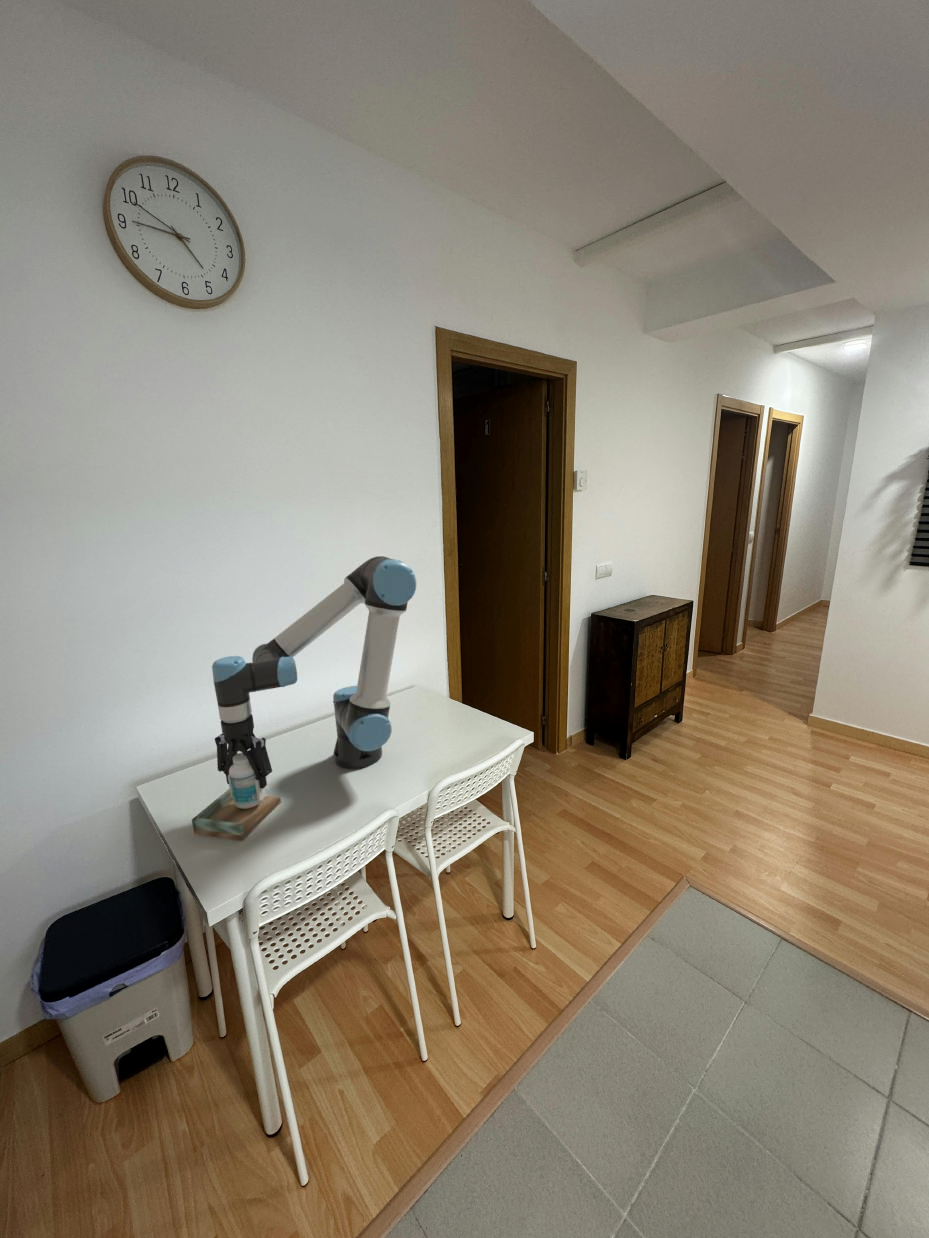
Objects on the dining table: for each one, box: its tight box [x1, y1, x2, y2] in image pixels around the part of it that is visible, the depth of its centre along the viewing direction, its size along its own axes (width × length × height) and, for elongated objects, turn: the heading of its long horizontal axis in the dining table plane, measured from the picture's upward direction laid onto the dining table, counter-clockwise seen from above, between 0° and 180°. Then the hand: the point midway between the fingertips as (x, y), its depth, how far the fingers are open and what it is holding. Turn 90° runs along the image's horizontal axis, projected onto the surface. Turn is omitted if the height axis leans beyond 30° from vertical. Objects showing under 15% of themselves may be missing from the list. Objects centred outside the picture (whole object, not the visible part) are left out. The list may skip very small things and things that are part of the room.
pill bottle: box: [229, 752, 264, 809], centre depth 131 cm, size 8×7×14 cm
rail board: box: [191, 788, 282, 842], centre depth 130 cm, size 14×16×4 cm
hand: (248, 796), depth 132 cm, fingers closed on pill bottle, 7 cm apart
